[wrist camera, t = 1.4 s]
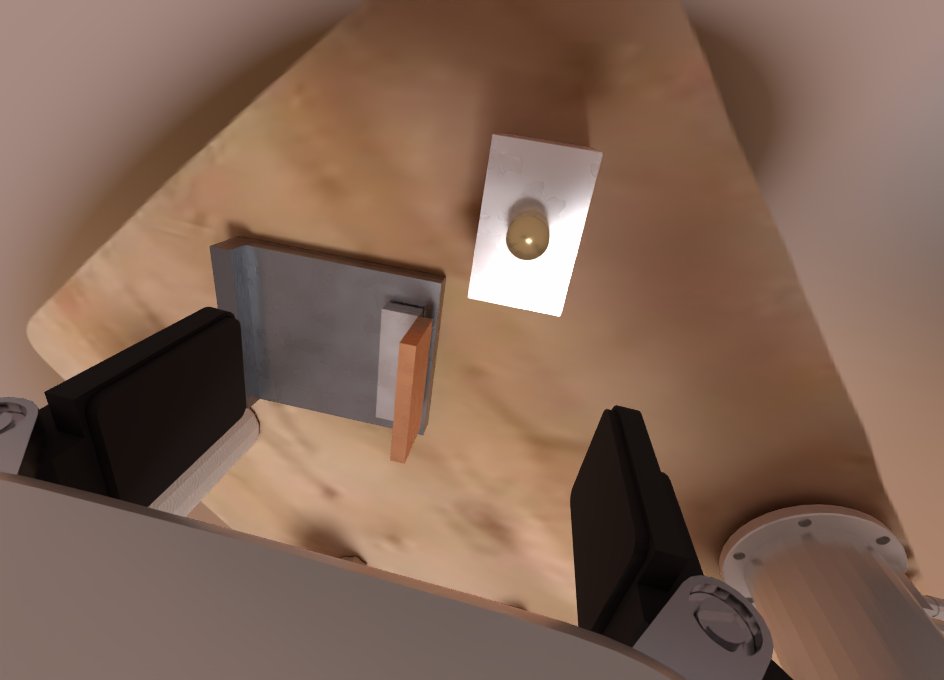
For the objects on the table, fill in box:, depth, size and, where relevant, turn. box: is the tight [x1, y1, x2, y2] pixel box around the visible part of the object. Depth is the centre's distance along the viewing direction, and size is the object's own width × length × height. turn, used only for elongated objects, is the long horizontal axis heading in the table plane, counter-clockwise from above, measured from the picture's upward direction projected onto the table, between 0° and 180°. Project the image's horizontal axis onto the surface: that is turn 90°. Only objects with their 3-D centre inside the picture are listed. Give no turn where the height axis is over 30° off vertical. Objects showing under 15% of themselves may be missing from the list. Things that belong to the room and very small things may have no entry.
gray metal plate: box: [210, 236, 446, 435], centre depth 32 cm, size 16×13×3 cm
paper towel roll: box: [149, 408, 259, 517], centre depth 30 cm, size 7×6×21 cm
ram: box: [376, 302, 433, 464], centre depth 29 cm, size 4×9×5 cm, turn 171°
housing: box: [468, 133, 603, 316], centre depth 23 cm, size 5×8×8 cm, turn 172°
